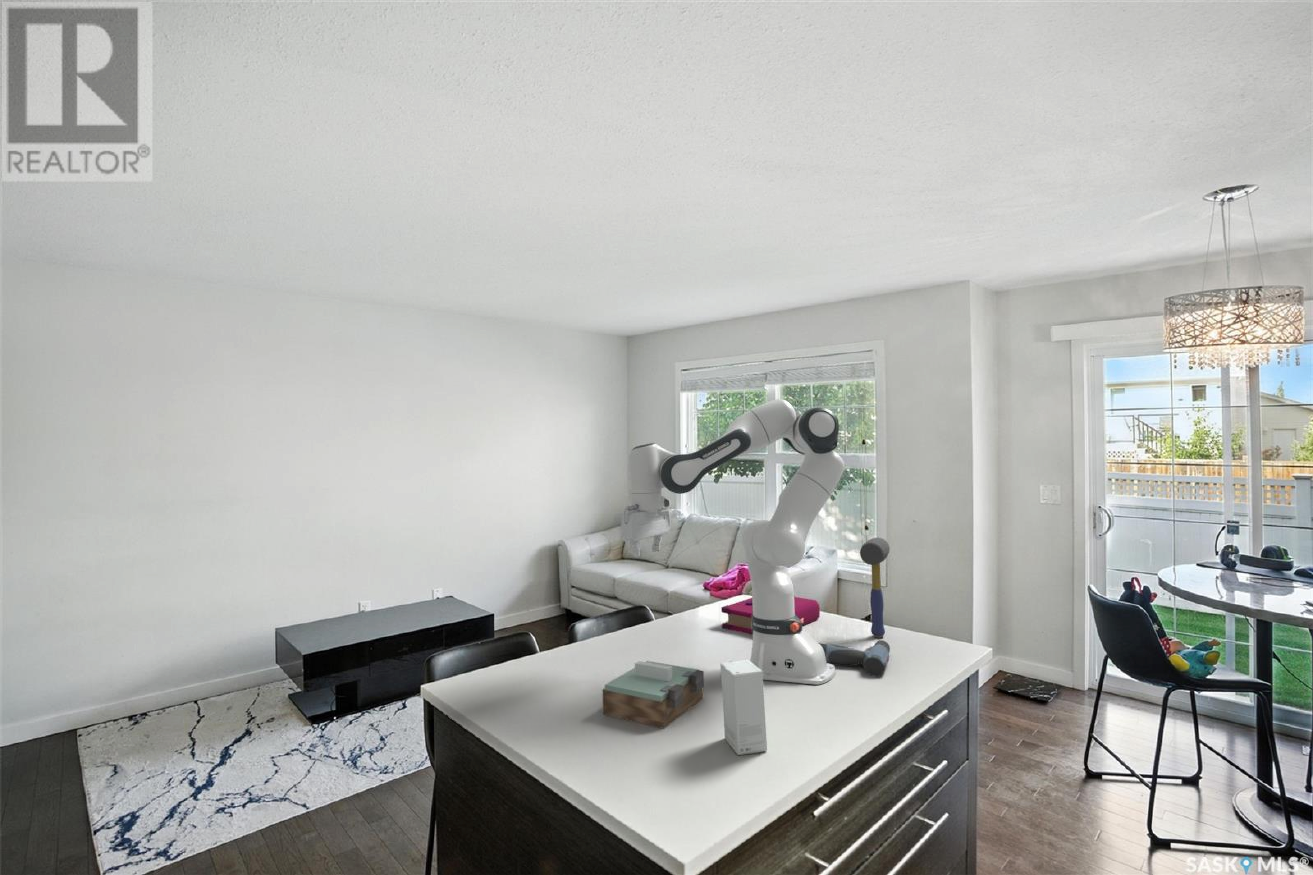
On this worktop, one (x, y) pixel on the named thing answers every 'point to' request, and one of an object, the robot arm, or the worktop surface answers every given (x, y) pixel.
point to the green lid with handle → (650, 680)
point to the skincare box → (743, 707)
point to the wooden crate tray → (656, 703)
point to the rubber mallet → (876, 580)
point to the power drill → (859, 656)
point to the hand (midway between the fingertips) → (647, 554)
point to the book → (744, 609)
